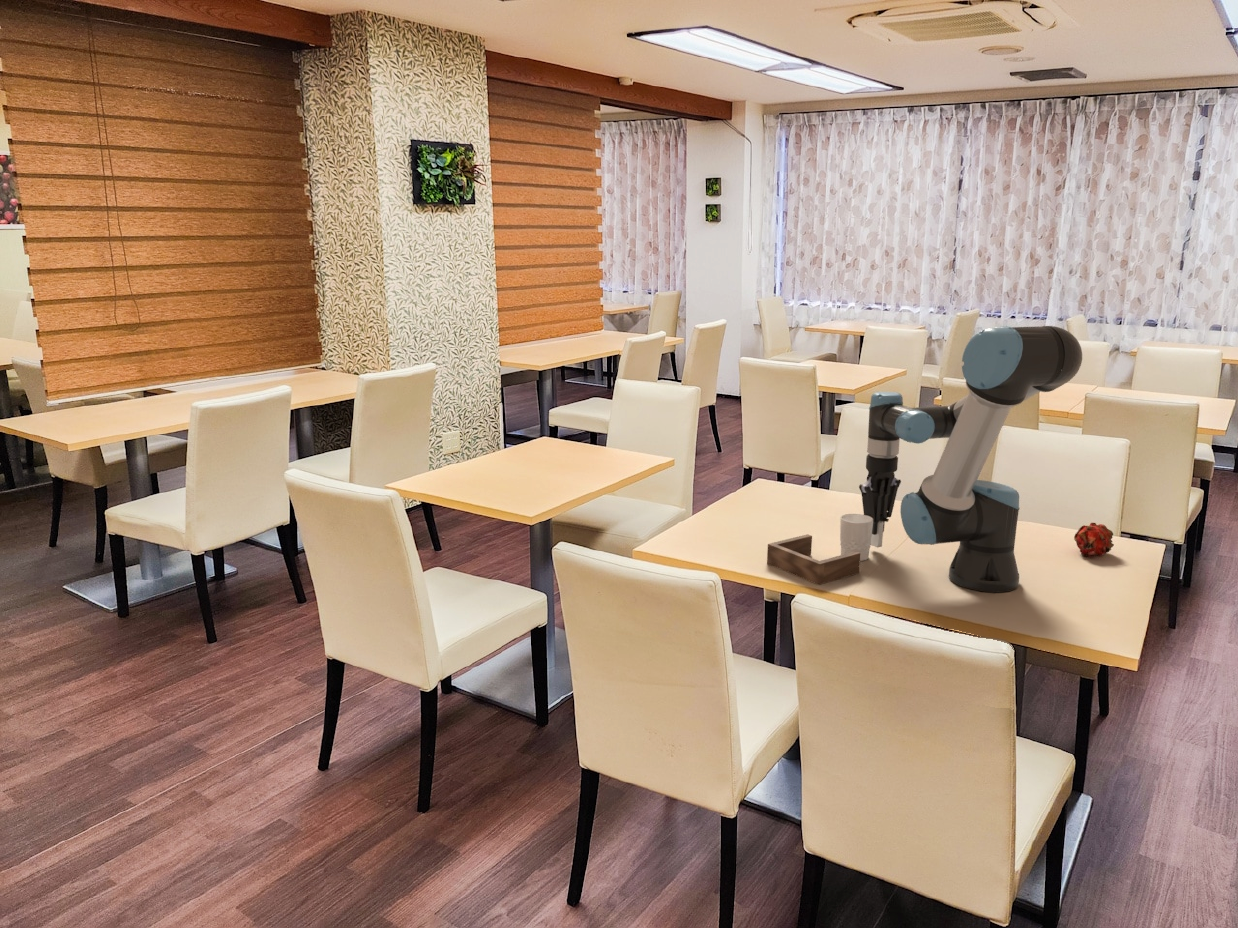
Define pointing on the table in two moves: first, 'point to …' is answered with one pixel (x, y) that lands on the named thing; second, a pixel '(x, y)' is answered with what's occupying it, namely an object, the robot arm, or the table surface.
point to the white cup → (856, 534)
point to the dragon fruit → (1094, 539)
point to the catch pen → (810, 561)
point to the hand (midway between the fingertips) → (875, 545)
